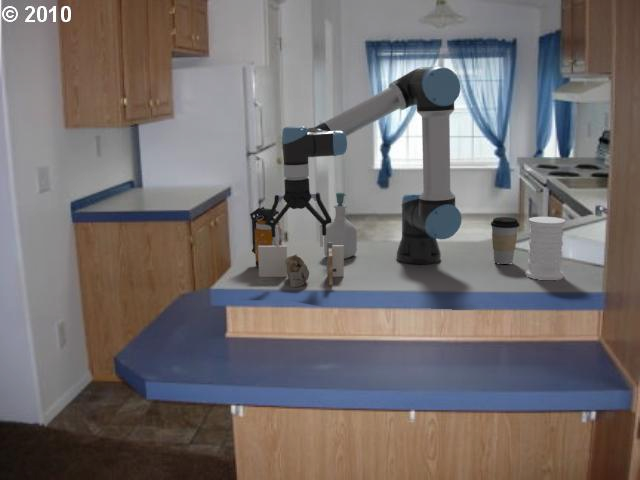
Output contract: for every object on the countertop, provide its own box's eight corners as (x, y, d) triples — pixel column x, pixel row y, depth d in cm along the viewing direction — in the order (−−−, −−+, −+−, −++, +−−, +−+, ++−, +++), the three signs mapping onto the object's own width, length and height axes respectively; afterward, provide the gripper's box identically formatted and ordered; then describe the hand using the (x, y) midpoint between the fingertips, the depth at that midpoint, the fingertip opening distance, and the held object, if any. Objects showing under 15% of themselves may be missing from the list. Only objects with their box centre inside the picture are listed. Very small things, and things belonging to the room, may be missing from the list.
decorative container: (545, 283, 224) (548, 224, 220) (517, 274, 233) (519, 219, 229) (571, 277, 230) (574, 220, 226) (542, 269, 239) (545, 215, 235)
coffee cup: (487, 265, 246) (488, 221, 242) (491, 258, 254) (493, 216, 251) (515, 267, 242) (518, 222, 239) (519, 260, 251) (521, 217, 248)
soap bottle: (359, 255, 262) (358, 191, 257) (345, 260, 254) (345, 195, 249) (336, 252, 267) (335, 190, 262) (321, 257, 259) (321, 193, 254)
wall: (343, 275, 235) (343, 241, 233) (343, 276, 233) (343, 243, 231) (259, 275, 236) (258, 242, 234) (258, 277, 234) (257, 243, 232)
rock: (312, 284, 221) (306, 251, 222) (290, 287, 221) (284, 255, 222) (309, 285, 233) (304, 254, 234) (289, 289, 233) (284, 258, 234)
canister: (272, 270, 242) (270, 211, 238) (245, 266, 248) (243, 208, 244) (287, 265, 249) (286, 206, 245) (261, 261, 255) (259, 204, 251)
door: (328, 275, 233) (328, 247, 231) (335, 275, 233) (335, 247, 231) (329, 285, 222) (329, 256, 220) (336, 285, 222) (336, 256, 220)
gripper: (337, 175, 225) (340, 242, 230) (256, 177, 226) (260, 244, 231) (337, 178, 218) (340, 248, 222) (254, 181, 219) (257, 250, 223)
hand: (299, 246), depth 227 cm, fingers open, 13 cm apart
